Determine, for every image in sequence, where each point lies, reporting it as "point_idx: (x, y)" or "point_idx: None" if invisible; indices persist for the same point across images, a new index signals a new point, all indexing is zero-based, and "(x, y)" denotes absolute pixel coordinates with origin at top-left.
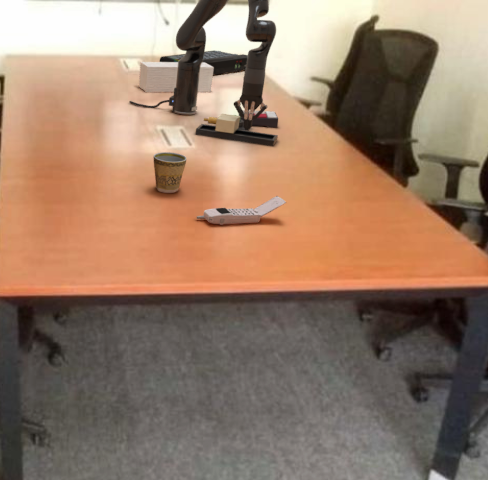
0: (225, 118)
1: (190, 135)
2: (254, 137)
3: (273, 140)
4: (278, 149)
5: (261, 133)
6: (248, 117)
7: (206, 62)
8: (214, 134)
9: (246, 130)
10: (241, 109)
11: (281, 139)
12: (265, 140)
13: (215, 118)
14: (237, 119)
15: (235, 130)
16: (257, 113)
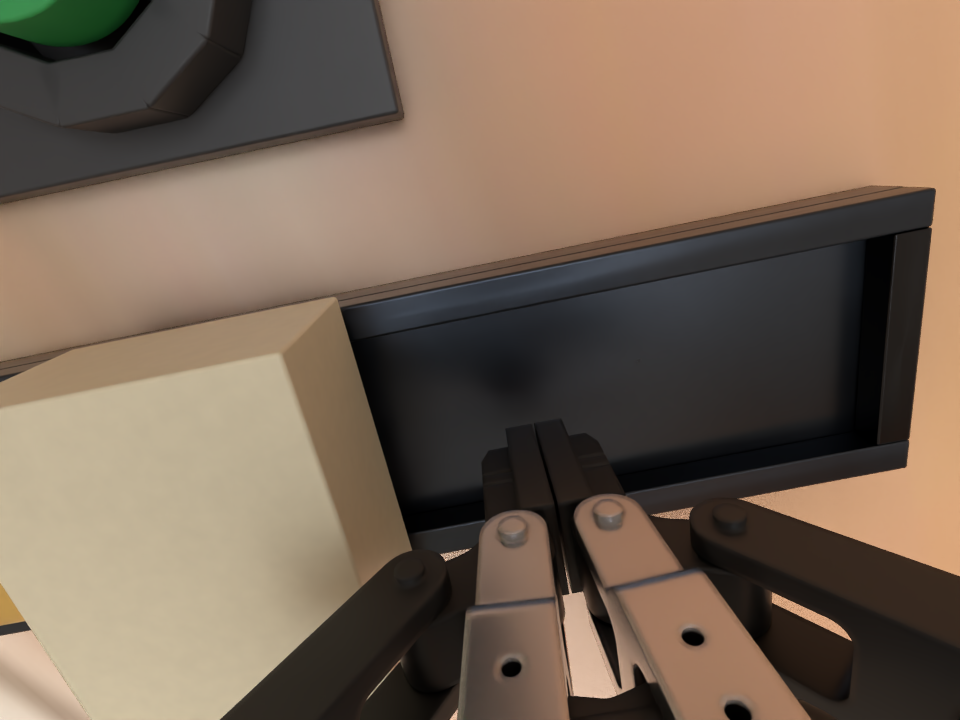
0: (198, 678)
1: (28, 634)
2: (668, 507)
3: (899, 468)
4: (918, 483)
5: (698, 271)
6: (553, 547)
7: None
8: None
9: (395, 90)
10: (361, 700)
11: (923, 37)
12: (796, 479)
13: (13, 618)
14: (356, 552)
15: (391, 488)
16: (821, 704)
